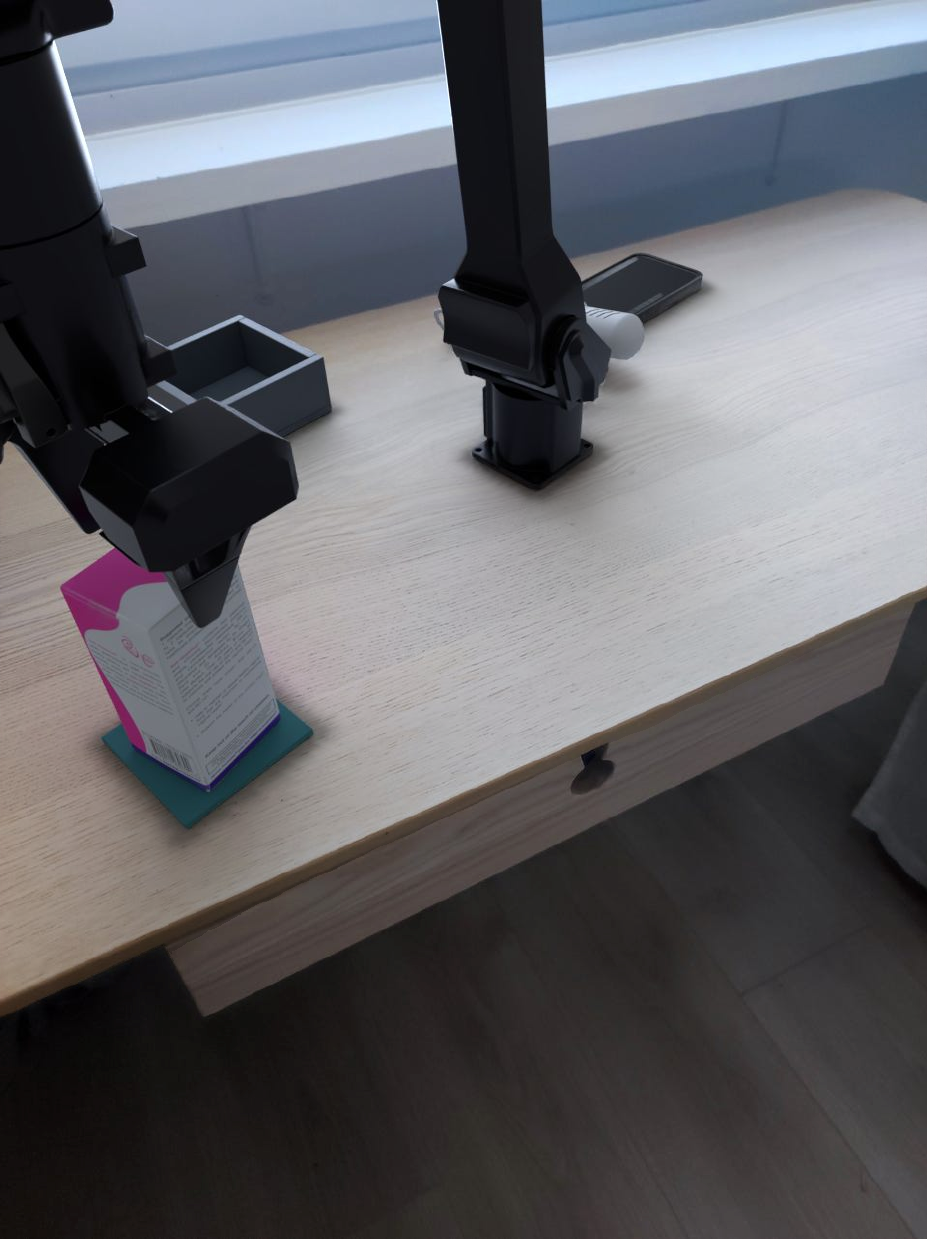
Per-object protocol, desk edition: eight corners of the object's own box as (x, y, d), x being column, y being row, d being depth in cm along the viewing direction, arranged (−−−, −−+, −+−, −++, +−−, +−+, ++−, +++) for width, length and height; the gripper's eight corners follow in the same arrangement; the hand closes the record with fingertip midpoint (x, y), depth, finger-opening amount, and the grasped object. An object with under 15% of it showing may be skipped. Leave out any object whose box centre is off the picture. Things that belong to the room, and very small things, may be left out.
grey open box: (332, 410, 71) (324, 356, 68) (220, 471, 66) (205, 416, 62) (251, 365, 76) (239, 314, 73) (142, 418, 71) (124, 365, 68)
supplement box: (286, 716, 49) (241, 555, 41) (209, 796, 45) (143, 637, 37) (207, 675, 51) (149, 515, 43) (128, 748, 48) (49, 589, 39)
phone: (534, 306, 79) (638, 250, 86) (534, 318, 80) (637, 261, 87) (605, 334, 75) (709, 273, 82) (604, 347, 76) (707, 285, 83)
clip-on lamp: (415, 386, 78) (562, 428, 66) (393, 316, 75) (545, 346, 62) (511, 327, 83) (666, 355, 70) (495, 258, 79) (656, 275, 67)
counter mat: (313, 733, 48) (312, 729, 48) (187, 829, 44) (185, 825, 44) (226, 659, 52) (224, 654, 52) (103, 741, 48) (100, 736, 48)
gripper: (-345, 220, 30) (-116, 570, 41) (-128, 423, 21) (94, 807, 32) (-24, 132, 36) (102, 462, 47) (264, 261, 26) (337, 636, 37)
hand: (148, 572), depth 40 cm, fingers open, 9 cm apart
